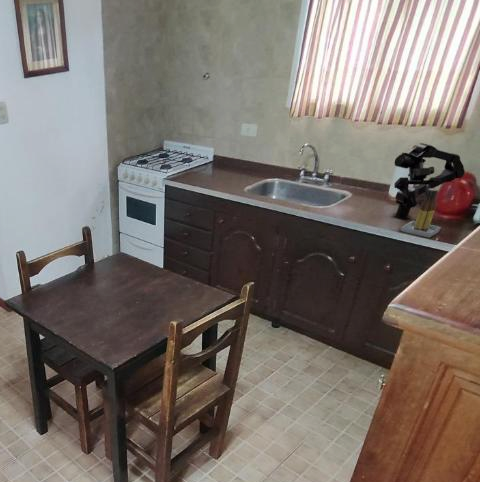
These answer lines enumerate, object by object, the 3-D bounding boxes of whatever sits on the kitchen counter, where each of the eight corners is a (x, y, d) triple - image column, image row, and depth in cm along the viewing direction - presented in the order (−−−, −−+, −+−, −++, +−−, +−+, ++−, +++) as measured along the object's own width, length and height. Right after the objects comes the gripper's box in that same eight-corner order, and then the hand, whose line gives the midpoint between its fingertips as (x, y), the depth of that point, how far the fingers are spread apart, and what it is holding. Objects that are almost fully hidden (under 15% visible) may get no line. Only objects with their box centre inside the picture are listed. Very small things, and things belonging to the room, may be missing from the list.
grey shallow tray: (411, 225, 241) (412, 220, 239) (439, 231, 232) (441, 227, 231) (400, 231, 234) (401, 226, 233) (428, 237, 226) (430, 233, 225)
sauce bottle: (427, 228, 234) (441, 188, 223) (428, 233, 230) (443, 191, 219) (411, 227, 237) (425, 187, 226) (412, 231, 232) (427, 190, 221)
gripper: (404, 160, 229) (406, 189, 226) (446, 160, 227) (448, 189, 224) (393, 173, 240) (394, 201, 237) (432, 173, 238) (434, 201, 235)
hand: (417, 198), depth 233 cm, fingers open, 9 cm apart
